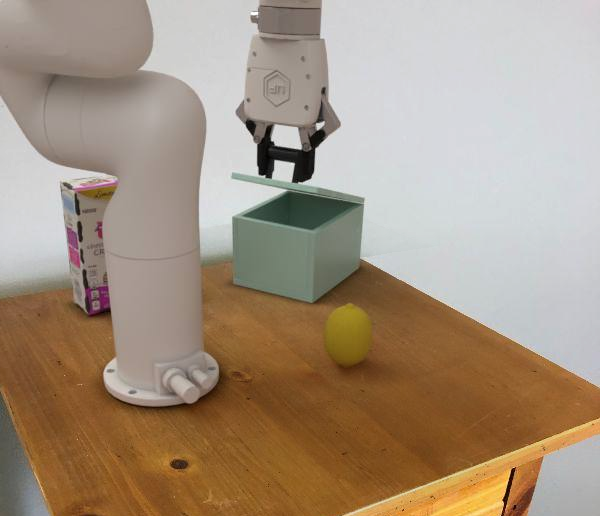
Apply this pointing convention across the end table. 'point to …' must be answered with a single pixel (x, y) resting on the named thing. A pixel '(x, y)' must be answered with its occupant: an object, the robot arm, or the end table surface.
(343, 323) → the lemon
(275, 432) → the end table surface
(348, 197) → the lid
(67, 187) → the candy bar box
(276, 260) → the green box
